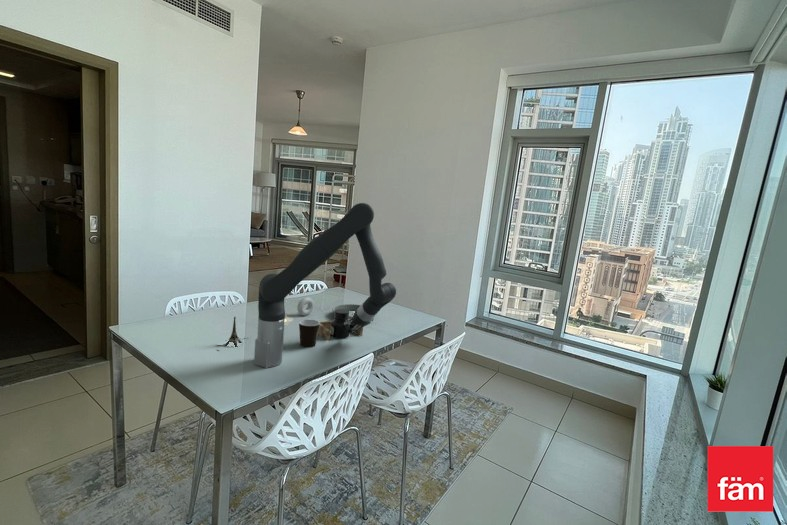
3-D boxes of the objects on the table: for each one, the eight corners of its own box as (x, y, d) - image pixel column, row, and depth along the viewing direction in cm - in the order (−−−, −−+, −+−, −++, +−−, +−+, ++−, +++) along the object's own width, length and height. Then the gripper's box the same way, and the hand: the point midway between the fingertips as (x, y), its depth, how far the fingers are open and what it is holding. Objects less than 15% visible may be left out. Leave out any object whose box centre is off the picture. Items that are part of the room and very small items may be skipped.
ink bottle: (334, 331, 181) (336, 307, 179) (352, 334, 179) (354, 310, 177) (326, 337, 172) (328, 312, 170) (344, 340, 170) (347, 315, 168)
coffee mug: (313, 350, 155) (314, 327, 154) (293, 346, 157) (295, 323, 156) (323, 340, 167) (325, 319, 165) (305, 337, 168) (307, 316, 167)
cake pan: (370, 311, 221) (370, 304, 220) (382, 325, 198) (382, 317, 197) (328, 311, 213) (329, 303, 212) (335, 325, 190) (336, 316, 189)
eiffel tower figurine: (247, 338, 162) (249, 308, 160) (256, 346, 154) (258, 315, 152) (210, 344, 152) (211, 312, 150) (217, 353, 145) (219, 320, 143)
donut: (299, 317, 195) (300, 299, 193) (295, 316, 197) (296, 297, 195) (314, 314, 202) (316, 297, 201) (310, 313, 204) (312, 295, 203)
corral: (362, 335, 178) (363, 326, 178) (326, 340, 168) (327, 330, 167) (350, 327, 188) (350, 318, 187) (315, 331, 178) (316, 322, 177)
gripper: (375, 304, 164) (359, 322, 175) (349, 306, 156) (333, 325, 168) (381, 319, 160) (364, 337, 172) (354, 322, 153) (338, 340, 164)
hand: (349, 331), depth 170 cm, fingers closed
